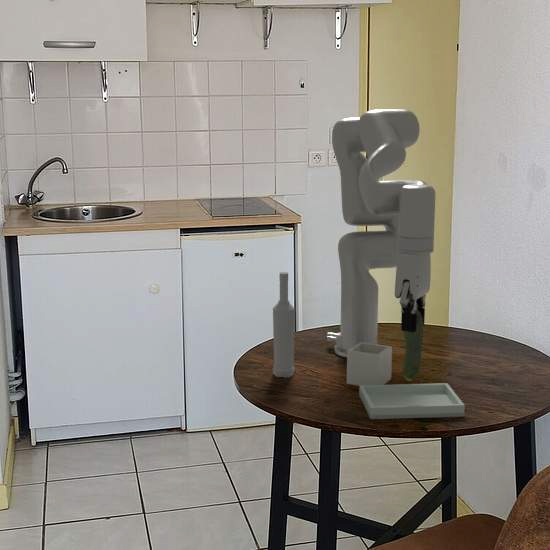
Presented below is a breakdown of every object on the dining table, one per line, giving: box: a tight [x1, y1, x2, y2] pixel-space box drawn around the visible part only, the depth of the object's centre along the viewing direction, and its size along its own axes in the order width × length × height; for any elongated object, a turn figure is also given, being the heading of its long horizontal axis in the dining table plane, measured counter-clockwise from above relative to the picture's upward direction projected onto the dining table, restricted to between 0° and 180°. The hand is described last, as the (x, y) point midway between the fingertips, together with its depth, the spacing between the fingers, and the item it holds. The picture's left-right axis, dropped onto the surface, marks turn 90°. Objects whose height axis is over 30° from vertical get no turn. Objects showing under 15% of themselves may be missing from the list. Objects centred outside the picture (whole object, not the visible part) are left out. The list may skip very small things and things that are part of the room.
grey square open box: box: [346, 342, 393, 387], centre depth 213 cm, size 8×8×8 cm
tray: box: [358, 382, 466, 420], centre depth 198 cm, size 20×14×2 cm
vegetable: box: [402, 296, 424, 383], centre depth 195 cm, size 4×4×20 cm
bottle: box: [272, 271, 296, 379], centre depth 216 cm, size 5×5×25 cm
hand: (412, 327), depth 194 cm, fingers closed on vegetable, 4 cm apart
